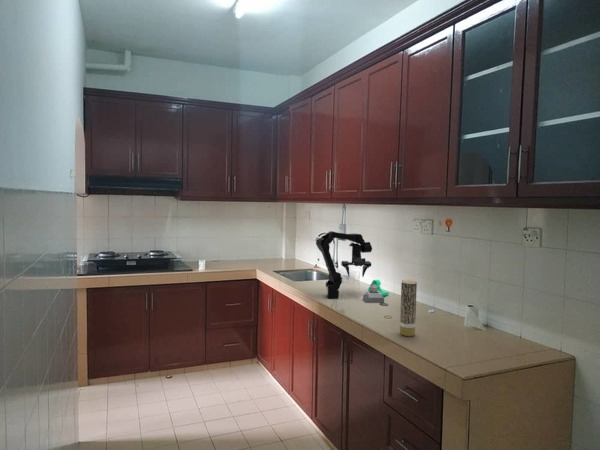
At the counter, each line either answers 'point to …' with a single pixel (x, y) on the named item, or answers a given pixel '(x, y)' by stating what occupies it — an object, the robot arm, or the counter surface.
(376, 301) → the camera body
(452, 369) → the counter surface
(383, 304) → the lens cap
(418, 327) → the counter surface
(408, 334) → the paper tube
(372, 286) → the lens
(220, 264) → the counter surface
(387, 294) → the camera mount
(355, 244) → the robot arm
